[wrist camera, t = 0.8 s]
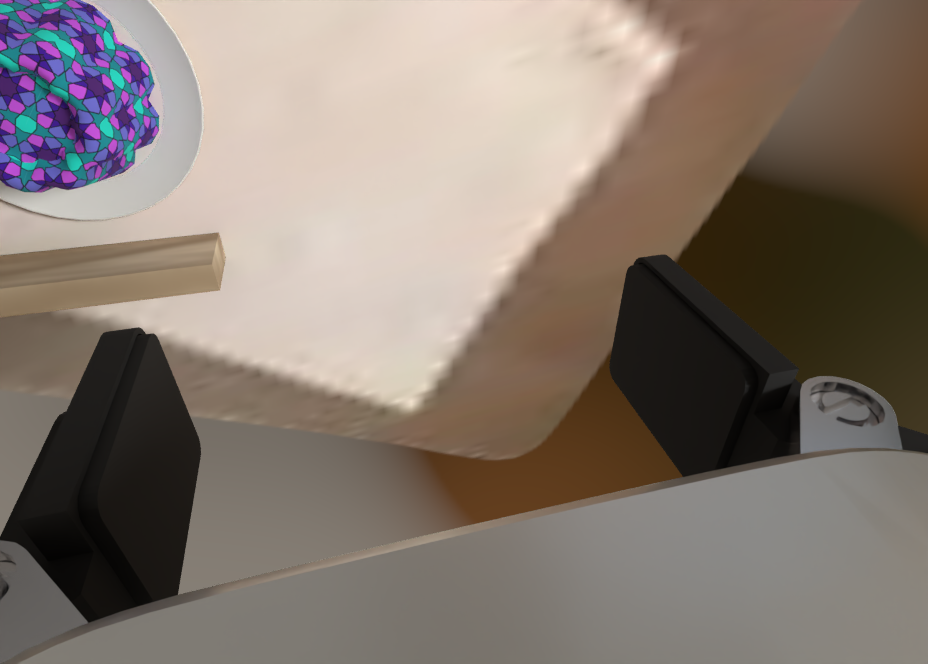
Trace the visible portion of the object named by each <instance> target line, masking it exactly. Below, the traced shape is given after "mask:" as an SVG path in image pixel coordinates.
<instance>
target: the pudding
mask: <svg viewBox="0 0 928 664" xmlns="http://www.w3.org/2000/svg"><path fill="white" fill-rule="evenodd" d="M90 1H92V2H93V3H95V4H96V5H98V6H99V7H100V8H102V9H103V10H104V11H106V12H107V13H109V14H110V15H111V16H113V17H114V18H115V19H116V20H117V21H118V22H119V23H120V24H121V25H122V26H123V27H124V28H125V29H126V30H127V31H128V32H129V33H130V34H131V35H132V37H133V38H134V39H135V41H136V42H137V43H138V44H139V46H140V47H141V48H142V49H143V51H144V53H145V55H146V56H147V58H148V60H149V61H150V63H151V65H152V66H153V69H154V71H155V74H156V76H157V79H158V81H159V84H160V88H161V93H162V98H163V108H164V119H163V125H162V131H161V134H160V137H159V139H158V142H157V144H156V146H155V148H154V149H153V151H152V152H151V154H150V155H149V156H148V158H147V159H146V160H144V161H143V162H142V163H141V164H140V165H139V166H138V167H137V168H135V169H133V170H131V171H130V172H128V173H126V174H125V175H122V176H119V177H116V178H113V179H110V180H105V181H101V180H104V179H107V178H109V177H112V176H115V175H118V174H121V173H123V172H125V171H126V170H127V169H128V168H130V167H131V166H132V165H133V164H134V161H135V150H136V149H139V148H141V147H144V146H146V145H148V144H151V143H152V142H153V140H154V138H155V137H156V135H157V133H158V131H159V115H158V114H157V112H156V111H155V109H154V108H153V106H152V105H151V103H150V102H149V100H148V98H149V96H150V94H151V91H152V89H153V87H154V81H153V77H152V74H151V70H150V67H149V66H148V64H147V63H146V62H145V60H144V59H143V58H142V56H141V55H140V53H139V52H138V51H136V50H134V49H132V48H130V47H128V46H126V45H124V44H122V43H120V42H118V40H117V38H116V35H115V33H114V30H113V28H112V25H111V22H110V20H108V19H107V18H106V17H105V16H104V15H103V14H102V13H100V12H99V11H98V10H97V9H96V8H95V7H94V6H92V5H90V4H87V3H85V2H83V1H81V0H54V1H53V0H0V199H1V200H3V201H5V202H8V203H10V204H13V205H16V206H18V207H21V208H24V209H26V210H29V211H32V212H36V213H40V214H44V215H48V216H52V217H57V218H64V219H73V220H82V221H85V220H109V219H114V218H120V217H125V216H130V215H132V214H135V213H138V212H140V211H143V210H146V209H149V208H150V207H152V206H154V205H155V204H157V203H159V202H160V201H162V200H164V199H165V198H167V197H168V196H169V195H170V194H171V193H172V192H173V191H174V190H175V189H177V188H178V187H179V186H180V185H181V183H182V182H183V181H184V179H185V178H186V176H187V175H188V174H189V172H190V171H191V169H192V167H193V165H194V163H195V160H196V158H197V156H198V153H199V151H200V146H201V141H202V136H203V131H204V107H203V102H202V97H201V91H200V86H199V82H198V79H197V76H196V74H195V71H194V68H193V65H192V63H191V60H190V58H189V56H188V54H187V52H186V50H185V49H184V47H183V45H182V43H181V41H180V39H179V37H178V36H177V34H176V32H175V31H174V30H173V28H172V27H171V26H170V24H169V23H168V22H167V20H166V19H165V18H164V16H163V15H162V14H161V12H160V11H159V10H158V8H157V7H156V6H155V5H154V4H153V3H152V2H151V1H150V0H90ZM98 181H99V182H98Z"/></svg>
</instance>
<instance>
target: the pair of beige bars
mask: <svg viewBox="0 0 928 664" xmlns="http://www.w3.org/2000/svg"><path fill="white" fill-rule="evenodd" d="M225 258H226V257H225V253H224V250H223V246H222V243H221V239H220V236H219V233H212V234H203V235H193V236H184V237H174V238H165V239H155V240H146V241H136V242H126V243H117V244H107V245H98V246H88V247H79V248H69V249H60V250H50V251H41V252H31V253H22V254H12V255H3V256H0V318H1V317H9V316H17V315H25V314H33V313H41V312H49V311H57V310H65V309H73V308H81V307H89V306H97V305H105V304H113V303H121V302H129V301H137V300H145V299H153V298H161V297H169V296H178V295H186V294H194V293H202V292H210V291H218V290H220V287H221V281H222V275H223V270H224V264H225Z"/></svg>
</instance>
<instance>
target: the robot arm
mask: <svg viewBox="0 0 928 664" xmlns="http://www.w3.org/2000/svg"><path fill="white" fill-rule="evenodd" d="M798 370H799V368H798V367H796V366H795V365H794V364H793V363H792V362H791V361H789V360H788V359H787V358H786V357H785V356H784V355H783V354H781V353H780V352H779V351H778V350H777V349H776V348H774V347H773V346H772V345H771V344H770V343H768V342H767V341H766V340H765V339H764V338H763V337H762V336H760V335H759V334H758V333H757V332H755V330H753V329H752V328H751V327H750V326H748V324H746V323H745V322H744V321H743V320H742V319H741V318H739V317H738V316H737V315H736V314H735V313H734V312H732V311H731V310H730V309H729V308H728V307H727V306H725V305H724V304H723V303H722V302H721V301H720V300H718V299H717V298H716V297H715V296H714V295H713V294H711V293H710V292H709V291H708V290H707V289H706V288H705V287H703V286H702V285H701V284H700V283H699V282H697V281H696V280H695V279H694V278H693V277H692V276H690V275H689V274H688V273H687V272H686V271H685V270H684V269H682V268H681V267H680V266H679V265H678V264H677V263H675V262H674V261H673V260H672V259H671V258H670V257H668V256H667V255H655V256H648V257H641V258H638V259H636V261H635V262H634V265H632V266H630V267H629V268H628V270H627V273H626V278H625V283H624V289H623V294H622V299H621V305H620V310H619V316H618V321H617V326H616V332H615V337H614V342H613V348H612V353H611V359H610V373H611V376H612V378H613V380H614V382H615V383H616V384H617V386H618V387H619V389H620V390H621V391H622V393H623V394H624V395H625V397H626V398H627V400H628V401H629V402H630V404H631V405H632V407H633V408H634V409H635V411H636V412H637V413H638V415H639V416H640V418H641V419H642V420H643V422H644V423H645V425H646V426H647V427H648V429H649V430H650V431H651V433H652V434H653V436H654V437H655V438H656V440H657V441H658V443H659V444H660V445H661V447H662V448H663V449H664V451H665V452H666V454H667V455H668V456H669V458H670V459H671V460H672V462H673V463H674V465H675V466H676V467H677V469H678V470H679V472H680V473H681V474H682V476H683V477H682V478H677V479H673V480H668V481H664V482H659V483H655V484H650V485H646V486H641V487H637V488H632V489H628V490H623V491H619V492H614V493H610V494H606V495H601V496H596V497H592V498H587V499H583V500H579V501H575V502H570V503H566V504H562V505H557V506H553V507H548V508H544V509H540V510H535V511H530V512H526V513H521V514H517V515H513V516H508V517H504V518H500V519H495V520H491V521H486V522H483V523H478V524H473V525H469V526H465V527H461V528H456V529H452V530H447V531H443V532H438V533H434V534H430V535H425V536H421V537H417V538H413V539H408V540H404V541H400V542H395V543H391V544H387V545H383V546H379V547H374V548H370V549H365V550H361V551H357V552H353V553H349V554H344V555H340V556H336V557H332V558H327V559H323V560H318V561H314V562H310V563H305V564H301V565H297V566H293V567H288V568H284V569H280V570H276V571H272V572H268V573H264V574H260V575H256V576H252V577H248V578H244V579H240V580H236V581H232V582H228V583H224V584H220V585H216V586H212V587H208V588H204V589H200V590H196V591H192V592H188V593H184V594H180V595H178V590H179V584H180V578H181V572H182V566H183V560H184V554H185V548H186V542H187V535H188V530H189V523H190V517H191V512H192V505H193V499H194V493H195V487H196V481H197V475H198V468H199V463H200V457H201V456H200V455H201V447H200V441H199V437H198V435H197V432H196V430H195V427H194V425H193V422H192V420H191V418H190V415H189V413H188V410H187V408H186V405H185V403H184V401H183V398H182V396H181V393H180V391H179V388H178V386H177V384H176V381H175V379H174V376H173V374H172V371H171V369H170V367H169V364H168V362H167V359H166V357H165V354H164V352H163V350H162V347H161V345H160V342H159V340H158V338H157V336H156V335H155V334H145V332H144V331H143V330H142V329H141V328H139V327H138V328H131V329H124V330H117V331H110V332H105V333H103V334H102V336H101V337H100V339H99V342H98V344H97V346H96V348H95V350H94V353H93V355H92V357H91V359H90V361H89V363H88V366H87V368H86V370H85V372H84V374H83V377H82V379H81V381H80V383H79V385H78V387H77V390H76V392H75V394H74V396H73V398H72V401H71V403H70V405H69V407H68V409H67V411H66V412H64V413H63V414H61V415H59V416H58V418H57V419H56V421H55V422H54V424H53V426H52V428H51V430H50V433H49V435H48V437H47V439H46V441H45V443H44V445H43V447H42V450H41V452H40V454H39V456H38V458H37V460H36V462H35V464H34V467H33V468H32V471H31V473H30V475H29V477H28V479H27V481H26V483H25V485H24V488H23V490H22V492H21V494H20V496H19V498H18V500H17V503H16V504H15V507H14V509H13V511H12V513H11V515H10V517H9V520H8V521H7V523H6V526H5V528H4V530H3V532H2V534H1V536H0V664H928V435H927V434H924V433H920V432H917V431H914V430H910V429H907V428H904V427H900V426H898V424H897V419H896V415H895V413H894V411H893V408H892V407H891V406H890V404H888V402H887V401H886V400H885V399H884V398H883V397H882V396H880V395H879V394H877V393H876V392H874V391H873V390H872V389H869V388H867V387H865V386H863V385H861V384H859V383H857V382H854V381H850V380H847V379H844V378H838V377H832V376H818V377H815V378H811V379H808V380H807V381H806V382H805V383H803V384H802V385H801V384H800V383H799V382H798V381H797V380H796V379H795V376H796V374H797V372H798Z"/></svg>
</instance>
